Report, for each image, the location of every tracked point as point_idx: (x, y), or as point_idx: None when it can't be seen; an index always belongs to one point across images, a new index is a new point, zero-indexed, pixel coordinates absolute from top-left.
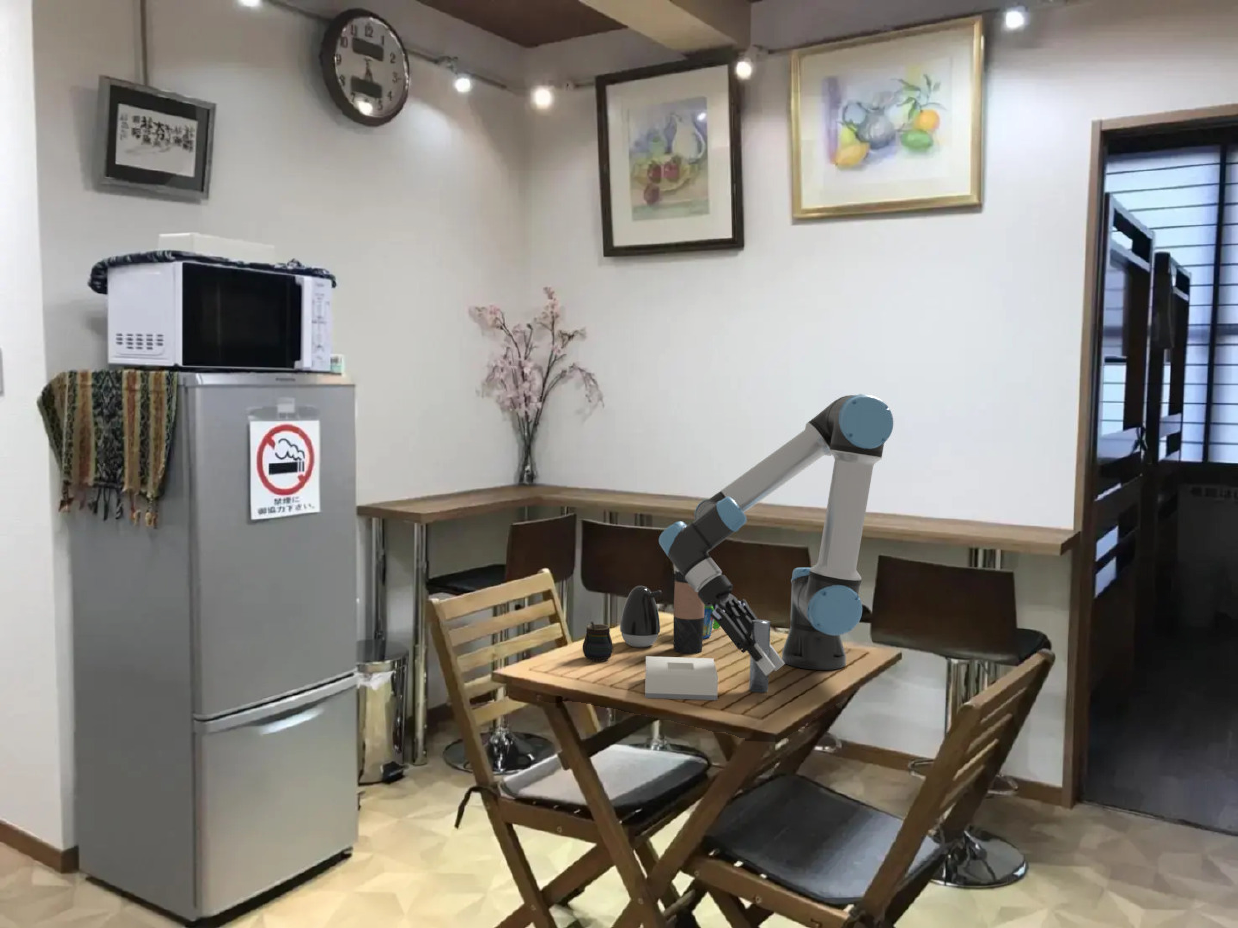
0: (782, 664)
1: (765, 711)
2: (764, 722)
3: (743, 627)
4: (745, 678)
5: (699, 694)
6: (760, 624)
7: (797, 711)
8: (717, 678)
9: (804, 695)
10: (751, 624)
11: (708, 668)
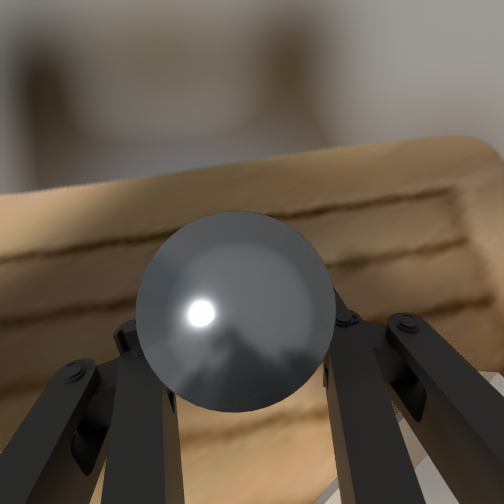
0: None
1: (397, 213)
2: (464, 171)
3: (361, 435)
4: None
5: None
6: (316, 255)
7: (331, 164)
8: (494, 372)
9: (195, 219)
10: (164, 475)
11: (444, 500)
